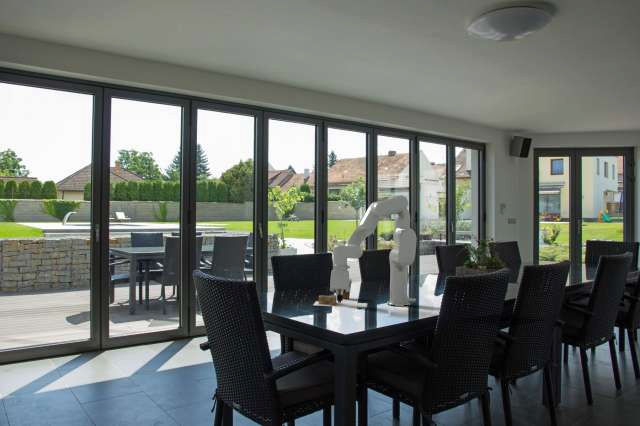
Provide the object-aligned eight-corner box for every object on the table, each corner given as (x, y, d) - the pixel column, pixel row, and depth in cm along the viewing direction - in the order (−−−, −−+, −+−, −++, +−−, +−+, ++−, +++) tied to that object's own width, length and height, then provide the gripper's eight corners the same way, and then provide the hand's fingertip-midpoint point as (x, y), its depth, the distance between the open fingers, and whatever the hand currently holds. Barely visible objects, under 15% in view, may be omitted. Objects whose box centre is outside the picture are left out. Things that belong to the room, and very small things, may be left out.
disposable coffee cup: (351, 298, 284) (352, 278, 284) (351, 301, 274) (351, 280, 274) (335, 298, 285) (336, 277, 285) (334, 301, 275) (335, 279, 275)
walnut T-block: (336, 302, 265) (336, 295, 265) (335, 305, 256) (335, 297, 256) (319, 301, 266) (320, 294, 266) (318, 304, 257) (318, 297, 257)
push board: (367, 305, 264) (367, 303, 264) (366, 309, 252) (366, 307, 252) (316, 303, 267) (316, 301, 267) (313, 307, 255) (313, 305, 255)
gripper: (354, 267, 263) (354, 301, 262) (326, 266, 264) (326, 300, 264) (353, 269, 255) (353, 304, 255) (325, 268, 257) (324, 303, 257)
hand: (339, 302), depth 260 cm, fingers closed
